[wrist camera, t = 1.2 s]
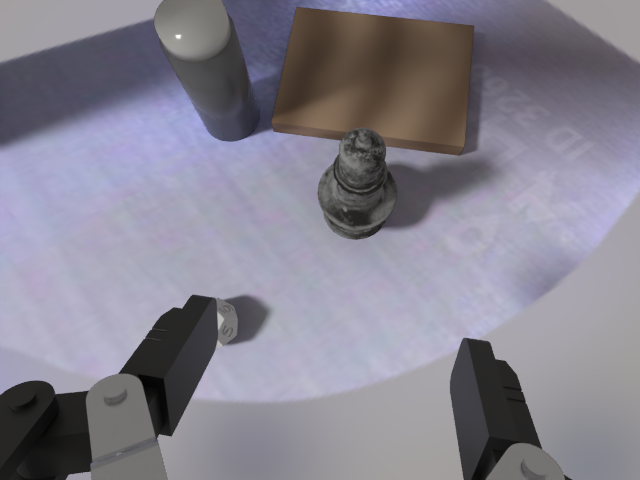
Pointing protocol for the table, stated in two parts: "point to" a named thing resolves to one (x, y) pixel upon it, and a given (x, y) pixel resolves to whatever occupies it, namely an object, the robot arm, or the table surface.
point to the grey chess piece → (358, 186)
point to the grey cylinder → (209, 65)
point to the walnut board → (376, 79)
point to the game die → (226, 322)
